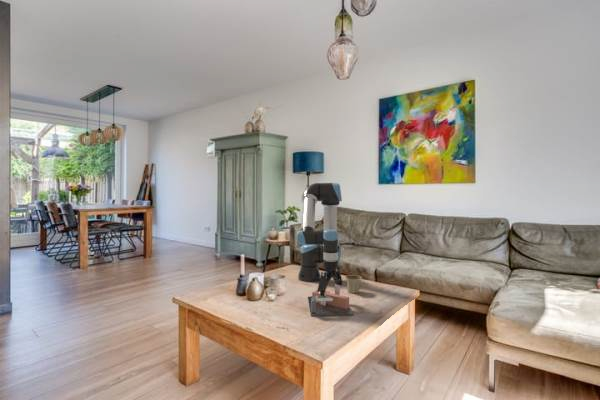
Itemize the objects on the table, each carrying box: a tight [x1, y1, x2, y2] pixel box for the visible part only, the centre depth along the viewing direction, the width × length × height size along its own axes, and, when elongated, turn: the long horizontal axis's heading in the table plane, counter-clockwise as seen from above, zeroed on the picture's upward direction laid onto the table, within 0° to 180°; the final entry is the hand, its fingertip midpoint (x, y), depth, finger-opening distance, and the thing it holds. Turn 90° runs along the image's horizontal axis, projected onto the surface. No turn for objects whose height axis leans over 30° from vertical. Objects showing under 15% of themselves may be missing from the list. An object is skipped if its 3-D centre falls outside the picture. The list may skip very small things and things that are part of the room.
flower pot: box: [345, 274, 363, 294], centre depth 181 cm, size 9×9×9 cm
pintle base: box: [307, 292, 354, 317], centre depth 159 cm, size 24×20×8 cm
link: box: [311, 289, 350, 309], centre depth 160 cm, size 19×7×5 cm, turn 52°
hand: (330, 300), depth 160 cm, fingers open, 13 cm apart
